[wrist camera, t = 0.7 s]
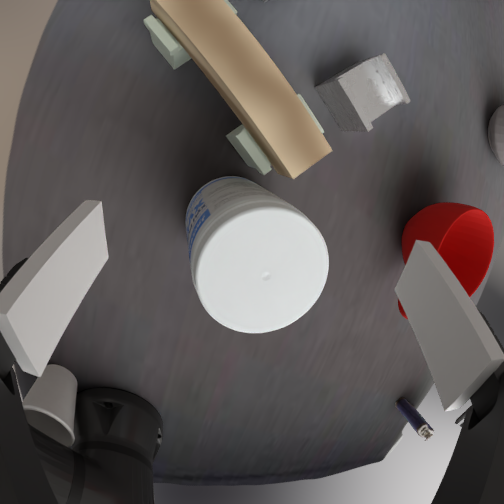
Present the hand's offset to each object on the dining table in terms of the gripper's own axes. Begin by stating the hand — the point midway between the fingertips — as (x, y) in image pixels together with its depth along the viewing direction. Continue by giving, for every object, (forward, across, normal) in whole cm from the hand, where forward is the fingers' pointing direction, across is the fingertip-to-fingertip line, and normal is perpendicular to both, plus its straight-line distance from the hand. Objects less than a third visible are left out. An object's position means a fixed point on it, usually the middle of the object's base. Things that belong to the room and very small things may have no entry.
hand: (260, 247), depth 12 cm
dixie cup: (+9, +24, +31) cm, 41 cm away
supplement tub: (+20, +2, +9) cm, 22 cm away
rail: (+17, +3, -6) cm, 18 cm away
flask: (+19, -38, +48) cm, 64 cm away
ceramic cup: (+25, -23, +12) cm, 36 cm away
